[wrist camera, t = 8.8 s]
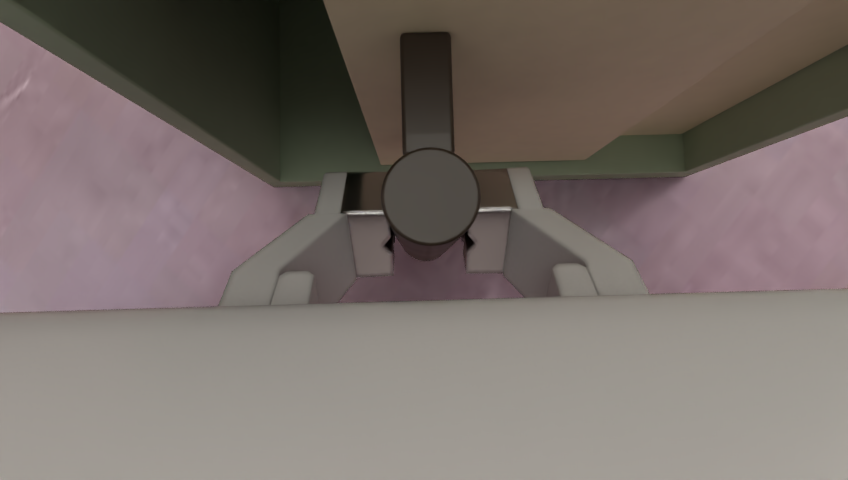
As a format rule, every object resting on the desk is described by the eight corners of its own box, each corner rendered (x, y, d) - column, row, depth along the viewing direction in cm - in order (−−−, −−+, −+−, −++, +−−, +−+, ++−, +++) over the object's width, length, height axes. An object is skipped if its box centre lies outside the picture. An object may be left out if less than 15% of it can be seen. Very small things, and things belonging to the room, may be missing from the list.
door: (590, 258, 18) (1053, 213, 5) (382, 264, 18) (281, 234, 5) (584, 145, 19) (1003, -187, 5) (380, 150, 19) (278, -174, 5)
